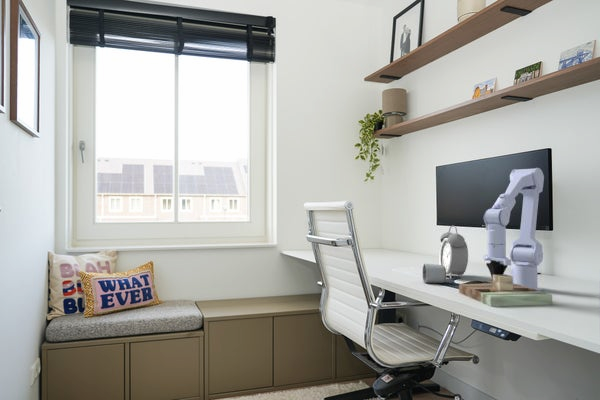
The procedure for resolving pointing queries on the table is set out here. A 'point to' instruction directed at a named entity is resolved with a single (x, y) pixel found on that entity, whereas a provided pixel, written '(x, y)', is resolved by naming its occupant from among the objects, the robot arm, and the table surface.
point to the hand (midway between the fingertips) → (496, 284)
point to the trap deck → (505, 295)
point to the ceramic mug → (434, 273)
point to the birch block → (503, 282)
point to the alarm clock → (453, 253)
